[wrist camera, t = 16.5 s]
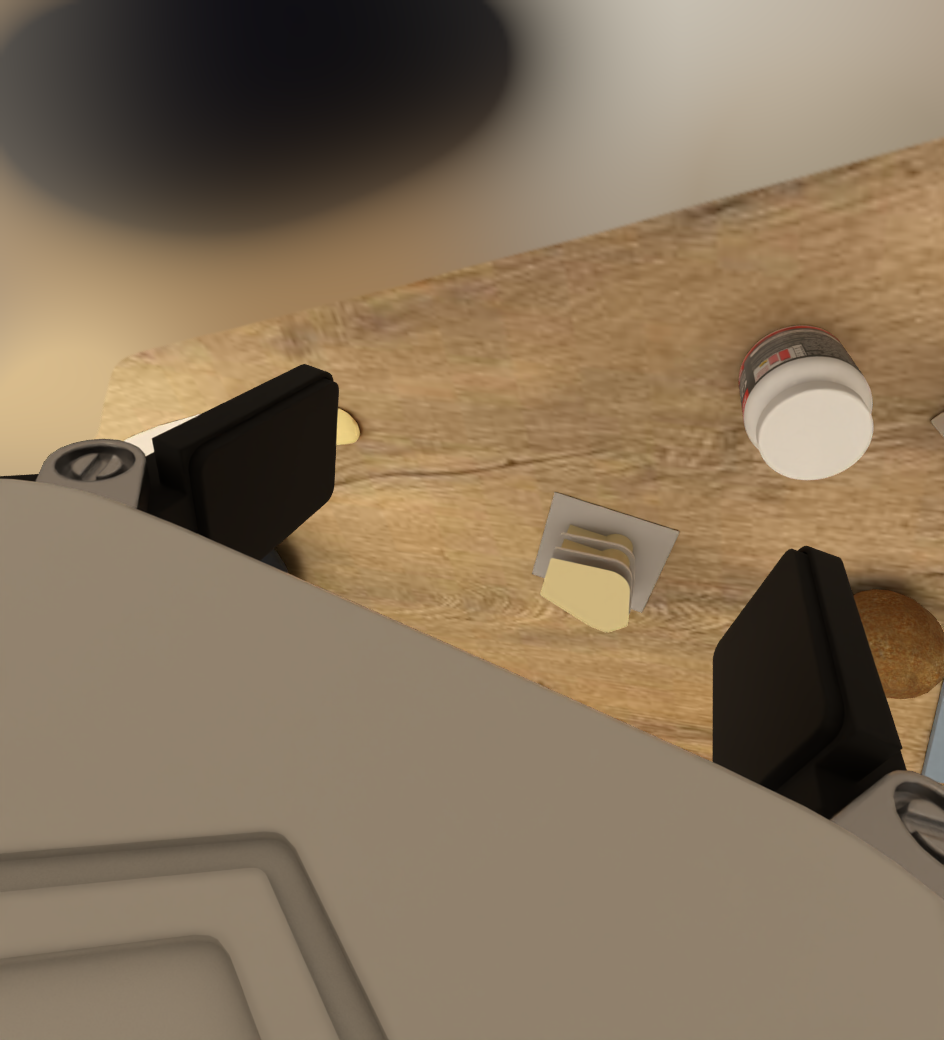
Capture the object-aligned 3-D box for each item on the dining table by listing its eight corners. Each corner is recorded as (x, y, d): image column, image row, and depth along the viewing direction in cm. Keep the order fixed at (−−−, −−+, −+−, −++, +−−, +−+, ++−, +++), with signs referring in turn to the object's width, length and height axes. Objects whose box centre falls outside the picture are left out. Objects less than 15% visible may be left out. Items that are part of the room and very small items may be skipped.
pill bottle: (719, 364, 34) (721, 424, 26) (811, 301, 31) (844, 348, 23) (771, 432, 35) (787, 508, 27) (865, 378, 32) (914, 448, 24)
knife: (101, 425, 59) (116, 464, 60) (345, 391, 45) (358, 444, 46) (112, 422, 60) (127, 461, 61) (354, 389, 46) (366, 441, 47)
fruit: (803, 590, 40) (819, 669, 34) (896, 554, 36) (934, 635, 30) (850, 646, 41) (874, 732, 35) (945, 617, 38) (991, 708, 31)
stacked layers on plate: (532, 573, 49) (514, 613, 44) (555, 491, 43) (537, 527, 39) (641, 612, 47) (634, 658, 42) (679, 531, 41) (675, 574, 37)
